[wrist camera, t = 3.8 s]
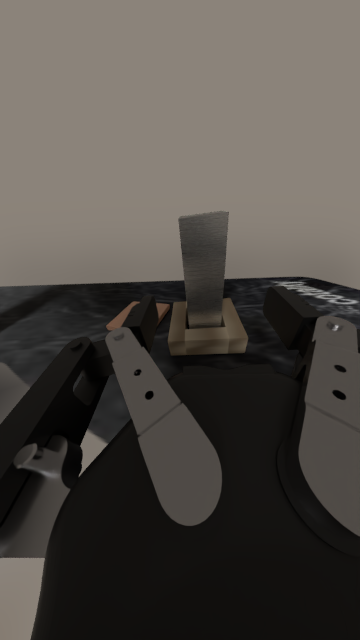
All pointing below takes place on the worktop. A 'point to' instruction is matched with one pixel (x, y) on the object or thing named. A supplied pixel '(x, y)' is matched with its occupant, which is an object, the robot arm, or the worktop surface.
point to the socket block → (206, 333)
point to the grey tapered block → (204, 266)
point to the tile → (122, 316)
